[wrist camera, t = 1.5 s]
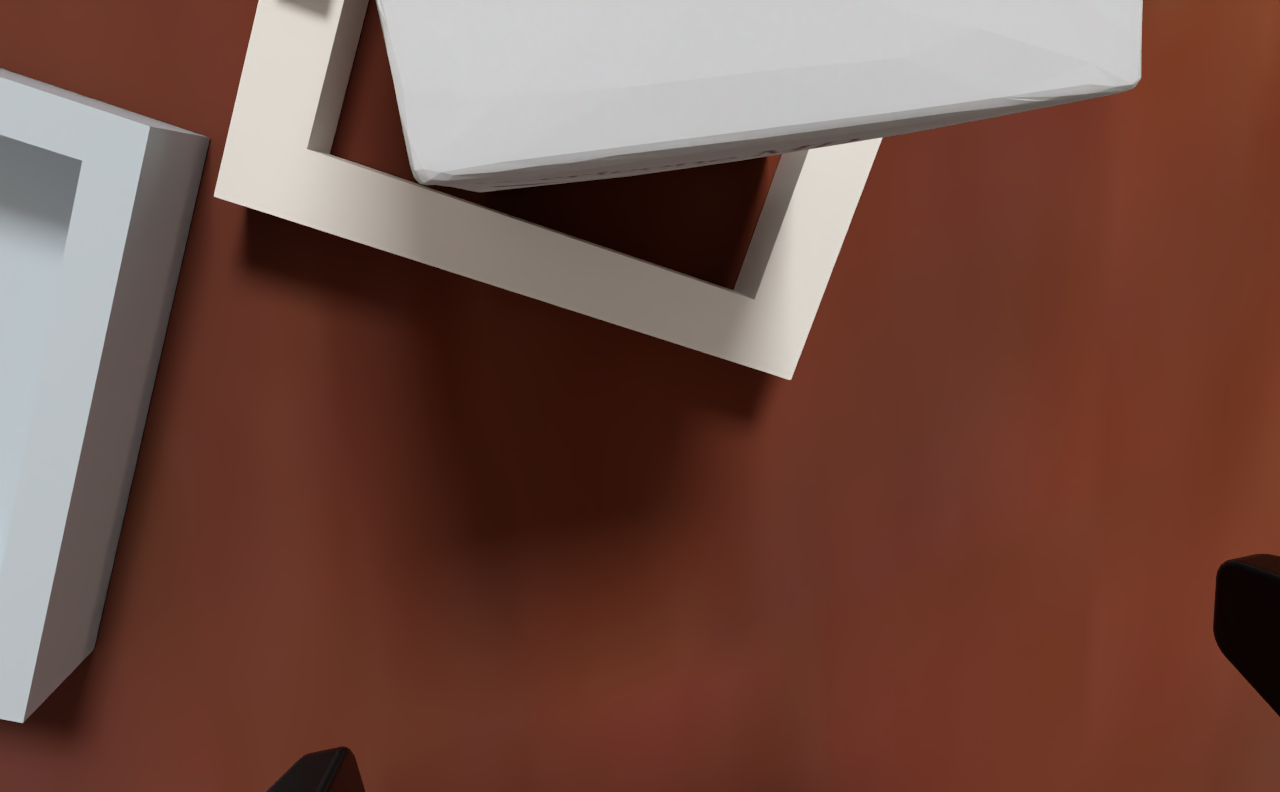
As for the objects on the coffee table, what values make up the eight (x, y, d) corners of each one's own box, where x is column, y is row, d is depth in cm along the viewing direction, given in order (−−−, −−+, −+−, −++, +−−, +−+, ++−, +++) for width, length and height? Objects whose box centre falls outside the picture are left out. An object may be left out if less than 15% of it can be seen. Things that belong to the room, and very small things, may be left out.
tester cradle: (964, -169, 19) (1031, -225, 16) (766, 363, 21) (799, 385, 19) (398, -444, 16) (375, -561, 14) (246, 196, 19) (201, 196, 16)
